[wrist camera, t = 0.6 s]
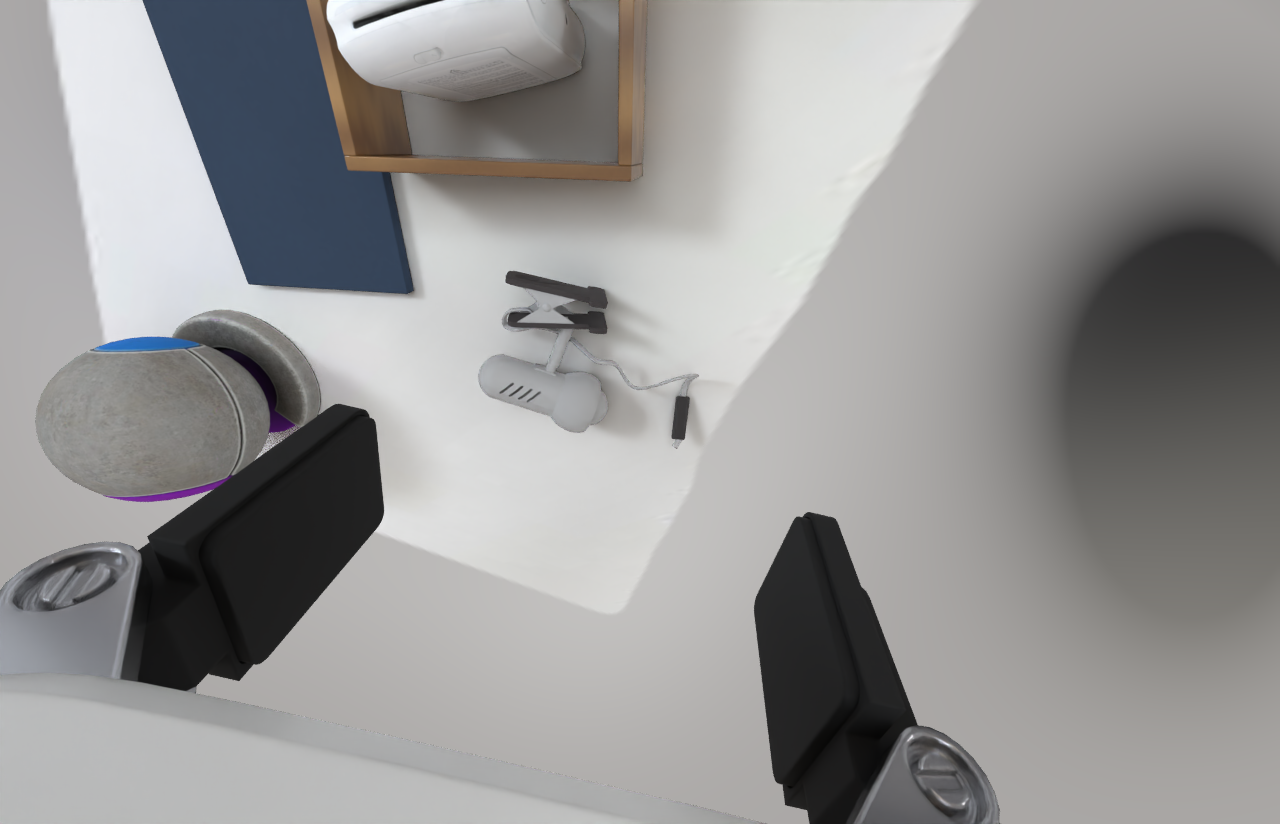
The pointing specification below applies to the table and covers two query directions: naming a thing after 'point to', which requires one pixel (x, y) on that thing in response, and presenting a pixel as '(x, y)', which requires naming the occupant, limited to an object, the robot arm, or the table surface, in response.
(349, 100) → the wooden box
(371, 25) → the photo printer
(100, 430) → the webcam
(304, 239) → the mat
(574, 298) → the clip-on lamp
